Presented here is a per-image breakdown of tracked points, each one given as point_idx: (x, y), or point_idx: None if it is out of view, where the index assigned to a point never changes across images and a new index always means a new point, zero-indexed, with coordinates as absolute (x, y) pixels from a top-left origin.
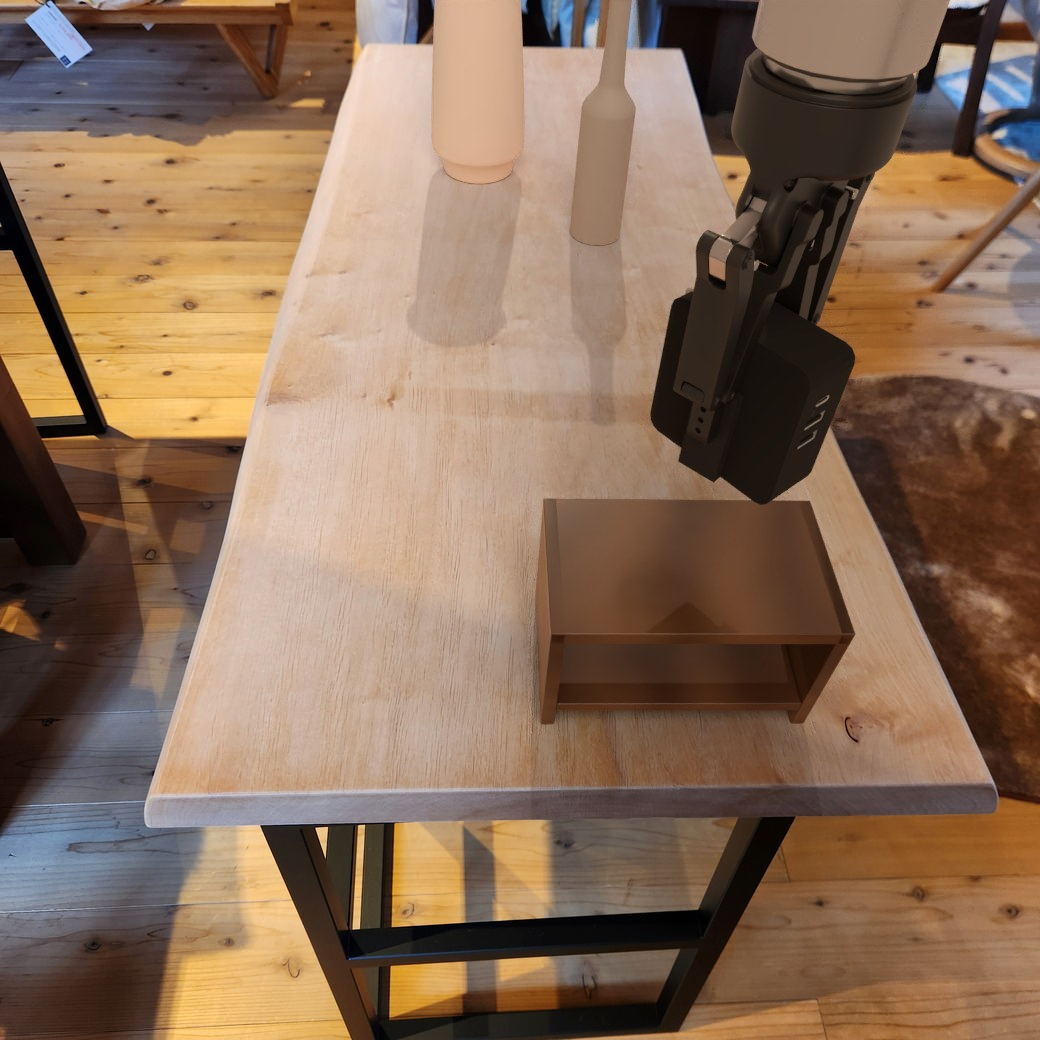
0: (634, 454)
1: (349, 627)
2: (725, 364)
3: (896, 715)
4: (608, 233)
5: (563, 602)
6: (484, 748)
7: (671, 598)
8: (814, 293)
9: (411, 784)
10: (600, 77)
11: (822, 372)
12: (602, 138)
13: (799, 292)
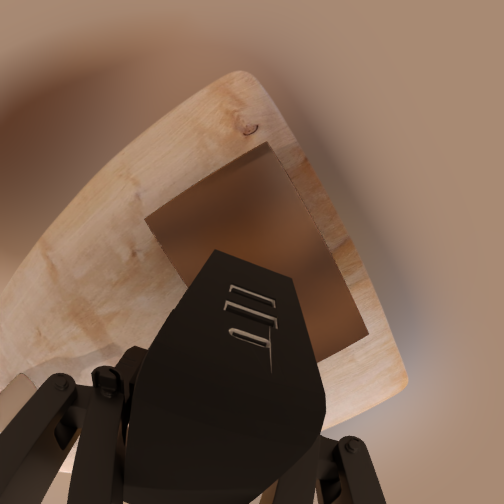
0: (127, 324)
1: (324, 387)
2: (370, 498)
3: (226, 110)
4: (24, 380)
5: (343, 340)
6: (360, 306)
7: (308, 282)
8: (52, 428)
9: (386, 322)
10: None
11: (275, 408)
12: (4, 417)
13: (113, 495)
